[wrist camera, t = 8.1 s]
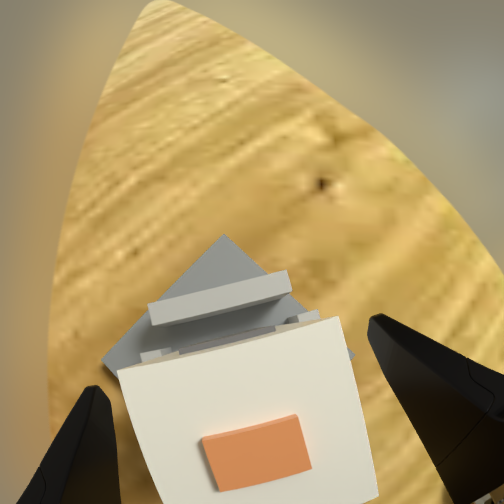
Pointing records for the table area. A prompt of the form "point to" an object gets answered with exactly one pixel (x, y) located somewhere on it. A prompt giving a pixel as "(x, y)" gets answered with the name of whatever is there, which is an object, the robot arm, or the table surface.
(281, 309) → the plate
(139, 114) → the table surface
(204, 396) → the white block orange patch
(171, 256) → the table surface
